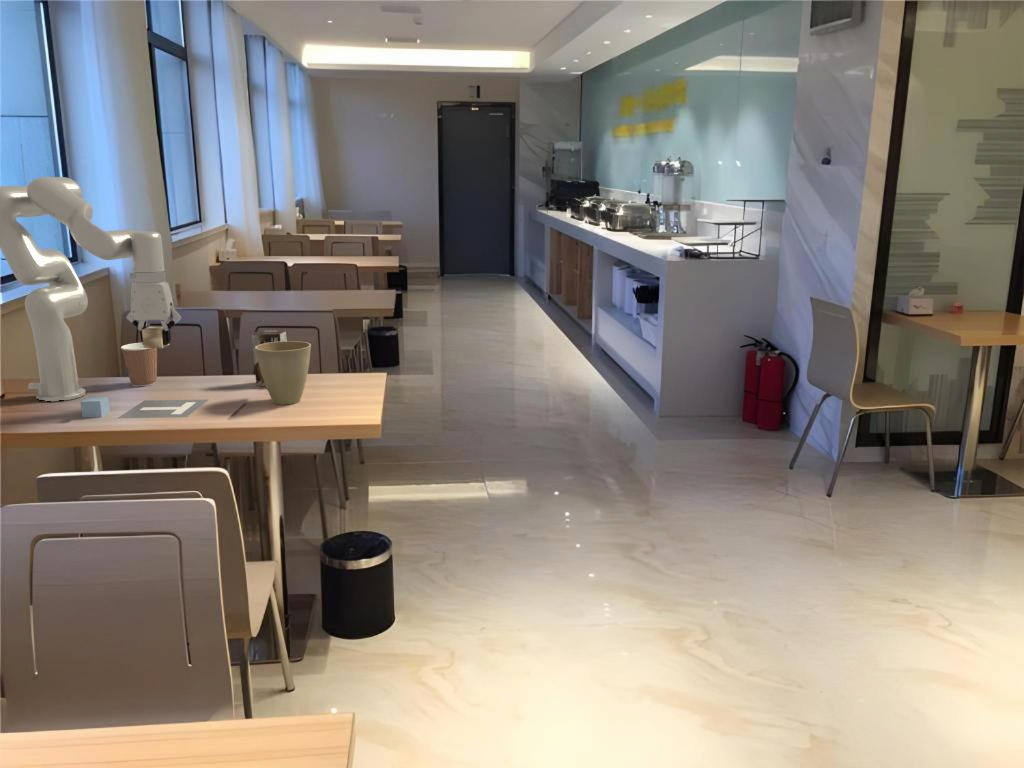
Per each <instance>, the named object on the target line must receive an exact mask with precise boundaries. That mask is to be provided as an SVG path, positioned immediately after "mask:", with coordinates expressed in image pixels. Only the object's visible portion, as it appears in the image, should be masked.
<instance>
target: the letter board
mask: <svg viewBox="0 0 1024 768" xmlns="http://www.w3.org/2000/svg"><path fill="white" fill-rule="evenodd" d="M209 400H210V399H160V400H159V399H155V400H154V399H153V400H152V399H151V400H150V399H149V400H148V399H147V400H143V401H142V402H139V404H137V405H135V406H134V407H132V408H131V409H129V410H128V411H126V412H124V413H123V414H121V415H120V416H118V417H117V419H159V418H160V419H161V418H164V419H166V418H188V417H189V416H190V415H192V414H193V413H194V412H195V411H197V410H198V409H200V408H201V407H202V406H203V405H205V403H207V402H208V401H209Z"/></svg>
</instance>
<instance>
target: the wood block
mask: <svg viewBox="0 0 1024 768" xmlns="http://www.w3.org/2000/svg"><path fill="white" fill-rule="evenodd" d="M162 331H164V330H163V326H148V327H147V328H145V329H143V330H142V335H143V345H144V348H157V349H163V348H165V347H167V346H169V345H170V344H168V345H164V344H163V335H162Z"/></svg>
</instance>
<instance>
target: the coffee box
mask: <svg viewBox="0 0 1024 768" xmlns="http://www.w3.org/2000/svg"><path fill="white" fill-rule="evenodd" d="M288 337H289V336H288V330H286V329H285V330H279V329H277V330H275V329H273V330H271V329H269V330H268V329H267V330H264V329H263V330H260V329H259V330H257V331H255V332H254V333H251V343H252V353H253V365H254V372H255V373H254V374H255V385H257V386H256V387H266V385H265V382H264V379H263V376H262V373H261V370H260V366H259V363H258V358H257V354H256V349H255V347H256V346H257V345H260V344H264V343H270V342H280V341H289V339H288Z"/></svg>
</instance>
